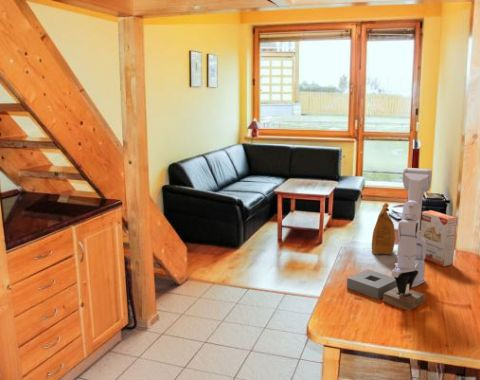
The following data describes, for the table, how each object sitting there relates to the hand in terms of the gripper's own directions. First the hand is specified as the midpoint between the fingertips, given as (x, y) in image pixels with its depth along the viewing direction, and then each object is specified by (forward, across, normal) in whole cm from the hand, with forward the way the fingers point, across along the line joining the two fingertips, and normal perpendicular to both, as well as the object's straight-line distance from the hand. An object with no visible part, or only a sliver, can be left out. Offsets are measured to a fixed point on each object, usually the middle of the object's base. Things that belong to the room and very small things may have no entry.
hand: (404, 291), depth 170 cm
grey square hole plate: (+4, -2, -14) cm, 15 cm away
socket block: (+4, 0, 0) cm, 4 cm away
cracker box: (+4, -48, -13) cm, 50 cm away
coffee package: (+4, -42, -35) cm, 55 cm away
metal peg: (+4, 0, 0) cm, 4 cm away
